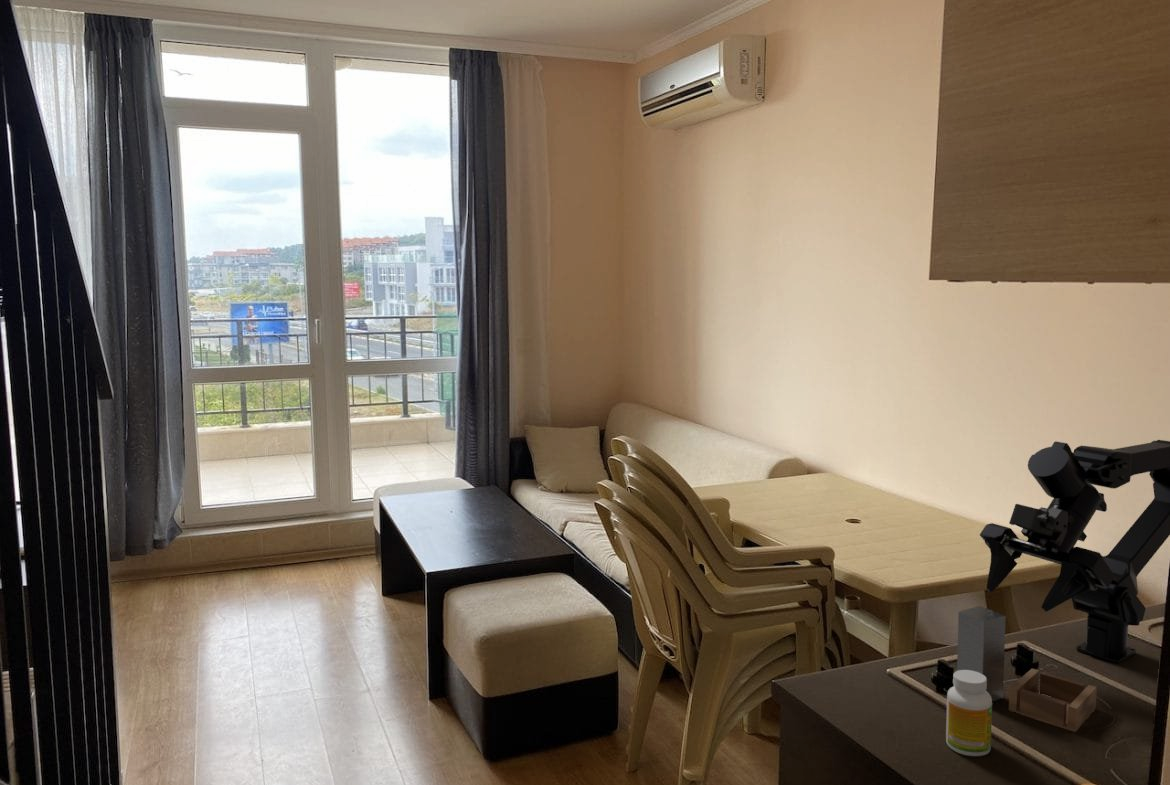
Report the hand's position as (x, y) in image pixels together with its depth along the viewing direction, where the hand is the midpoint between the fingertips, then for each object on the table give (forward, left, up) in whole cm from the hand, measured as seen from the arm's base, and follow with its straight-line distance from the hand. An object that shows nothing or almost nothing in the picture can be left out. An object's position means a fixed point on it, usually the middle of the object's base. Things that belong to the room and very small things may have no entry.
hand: (1015, 599), depth 129 cm
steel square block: (+7, -1, -13) cm, 15 cm away
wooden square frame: (+3, +7, -13) cm, 16 cm away
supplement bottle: (+21, +6, -13) cm, 26 cm away
